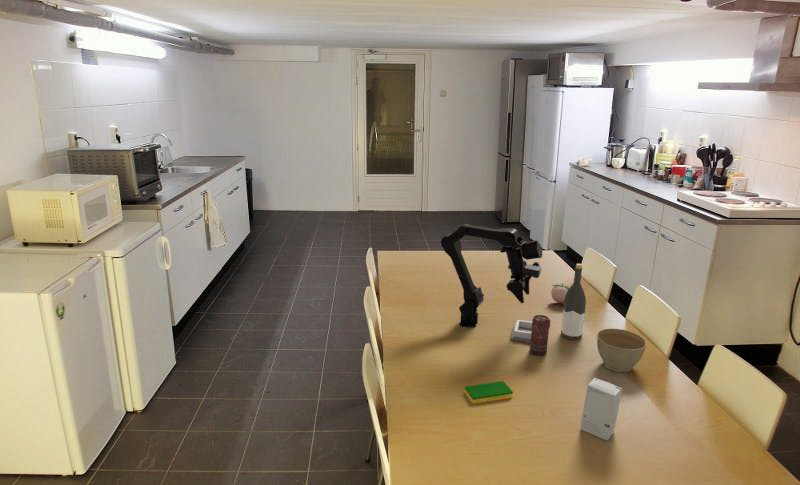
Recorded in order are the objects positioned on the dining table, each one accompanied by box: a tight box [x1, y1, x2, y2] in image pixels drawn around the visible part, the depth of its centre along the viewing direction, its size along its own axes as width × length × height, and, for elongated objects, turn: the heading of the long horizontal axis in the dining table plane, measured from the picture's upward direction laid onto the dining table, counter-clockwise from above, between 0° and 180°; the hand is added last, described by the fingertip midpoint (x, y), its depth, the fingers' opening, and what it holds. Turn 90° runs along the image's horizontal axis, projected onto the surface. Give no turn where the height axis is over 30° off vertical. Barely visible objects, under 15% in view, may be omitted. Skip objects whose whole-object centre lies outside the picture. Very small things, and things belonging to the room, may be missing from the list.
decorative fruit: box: [550, 283, 571, 305], centre depth 243 cm, size 9×8×10 cm
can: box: [529, 314, 551, 357], centre depth 198 cm, size 6×6×14 cm
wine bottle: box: [560, 263, 587, 341], centre depth 210 cm, size 8×8×30 cm
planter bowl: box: [596, 328, 648, 373], centre depth 189 cm, size 16×16×11 cm
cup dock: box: [510, 319, 532, 344], centre depth 213 cm, size 13×13×4 cm
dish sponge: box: [464, 380, 513, 405], centre depth 172 cm, size 7×14×2 cm, turn 106°
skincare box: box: [579, 377, 623, 441], centre depth 153 cm, size 8×6×15 cm
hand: (525, 298), depth 210 cm, fingers open, 9 cm apart
